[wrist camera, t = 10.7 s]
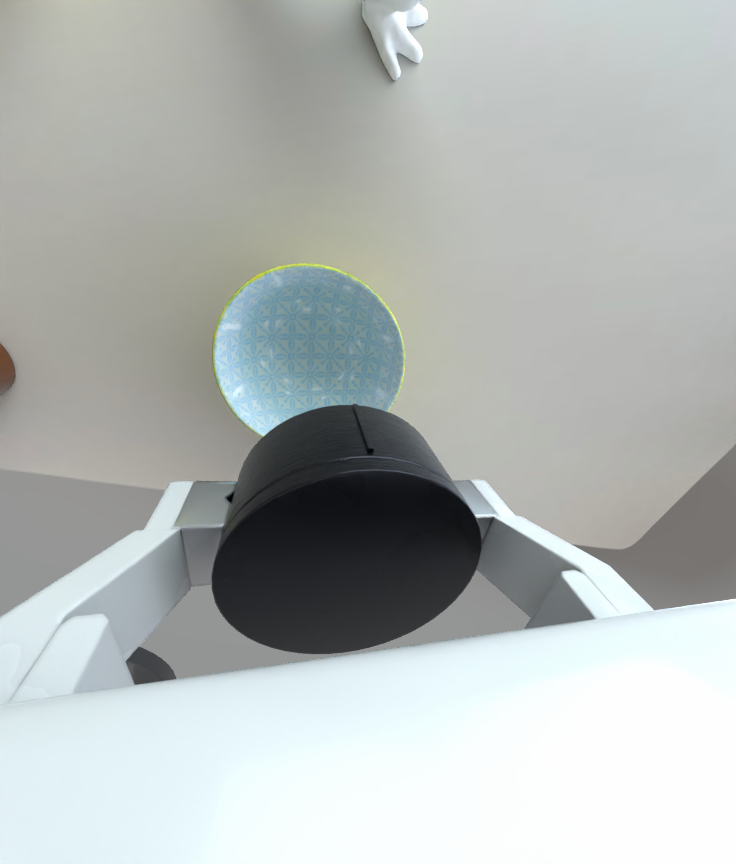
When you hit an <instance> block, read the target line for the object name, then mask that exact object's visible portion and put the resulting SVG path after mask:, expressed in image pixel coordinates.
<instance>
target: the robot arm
mask: <svg viewBox="0 0 736 864" xmlns="http://www.w3.org/2000/svg"><path fill="white" fill-rule="evenodd" d="M453 482H454V484H455V485H456V487H457V488H458V490H459V491H460V493H461V494H462V496H463V497H464V499H465V500H466V502H467V503H468V505H469V506H470V508H471V509H472V511H473V512H474V514H475V516H476V518H477V521H478V523H479V526H480V531H481V537H482V549H481V555H480V560H479V563H478V566H477V568H476V569H477V570H478V571H479V572H480V573H481V574H482V575H483V576H484V577H486V578H487V579H488V580H489V581H490V582H491V583H492V584H493V585H495V586H496V587H497V588H498V589H499V590H500V591H501V592H502V593H503V594H505V595H506V596H507V597H508V598H509V599H510V600H511V601H512V602H514V603H515V604H516V605H517V606H518V607H519V608H520V609H522V610H523V611H524V612H525V613H526V614H527V615H528V616H529V617H531V619H530V621H529V622H528V624H527V625H526V627H525V628H524V629H523V630H516V631H509V632H501V633H495V634H487V635H481V636H473V637H466V638H459V639H452V640H446V641H439V642H431V643H425V644H417V645H410V646H404V647H397V648H390V649H383V650H376V651H369V652H362V653H355V654H348V655H341V656H335V657H327V658H320V659H313V660H306V661H300V662H292V663H285V664H278V665H272V666H264V667H258V668H250V669H244V670H236V671H229V672H222V673H215V674H208V675H201V676H194V677H187V678H180V679H173V680H166V681H159V682H152V683H145V684H138V685H135V684H134V682H133V679H132V677H131V674H130V672H129V669H128V667H127V664H126V662H125V661H126V660H127V659H128V658H129V657H130V656H131V655H132V654H133V652H134V651H135V650H136V649H137V648H138V647H139V646H140V645H141V644H142V642H143V641H144V640H145V639H146V638H147V637H148V636H149V635H150V634H151V632H152V631H153V630H154V629H155V628H156V627H157V626H158V625H159V624H160V622H161V621H162V620H163V619H164V618H165V617H166V616H167V615H168V614H169V612H170V611H171V610H172V609H173V608H174V607H175V606H176V605H177V603H179V601H180V600H181V599H182V598H183V597H184V596H185V595H186V594H187V592H188V591H189V590H190V587H193V586H202V585H212V581H211V575H212V569H213V564H214V560H215V556H216V553H217V549H218V547H219V542H220V539H221V536H222V532H223V529H224V526H225V523H226V520H227V516H228V513H229V509H230V506H231V501H232V498H233V495H234V492H235V488H236V485H237V482H227V481H196V482H195V481H173V482H171V483H170V484H169V485H168V486H167V488H166V490H165V492H164V494H163V495H162V497H161V499H160V501H159V503H158V504H157V506H156V508H155V510H154V511H153V513H152V515H151V517H150V518H149V520H148V522H147V524H146V526H145V527H144V529H143V530H140V531H134V532H132V533H131V534H129V535H128V536H126V537H125V538H123V539H121V540H120V541H118V542H117V543H115V544H114V545H112V546H110V547H109V548H108V549H106V550H104V551H103V552H101V553H100V554H98V555H97V556H95V557H93V558H92V559H90V560H89V561H87V562H85V563H84V564H82V565H81V566H79V567H78V568H76V569H75V570H73V571H71V572H70V573H68V574H67V575H65V576H63V577H62V578H60V579H59V580H57V581H56V582H54V583H52V584H51V585H49V586H48V587H47V588H45V589H43V590H42V591H40V592H38V593H37V594H35V595H34V596H32V597H31V598H29V599H27V600H26V601H24V602H23V603H21V604H20V605H18V606H16V607H15V608H13V609H12V610H10V611H9V612H7V613H5V614H4V615H2V616H1V617H0V864H736V599H732V600H725V601H718V602H712V603H704V604H698V605H690V606H683V607H676V608H670V609H663V610H656V611H654V610H653V609H652V608H651V607H650V606H649V605H648V604H647V603H646V602H645V601H644V600H643V599H642V598H641V597H640V596H639V595H638V594H637V593H636V592H635V591H634V590H633V589H632V588H631V587H630V586H629V585H628V584H627V583H626V582H625V581H624V580H623V579H622V578H621V577H620V576H619V575H618V574H617V573H616V572H615V571H614V570H613V569H612V568H611V567H610V566H609V565H607V564H605V563H603V562H602V561H600V560H598V559H596V558H595V557H592V556H591V555H589V554H587V553H585V552H583V551H582V550H580V549H578V548H576V547H574V546H573V545H571V544H569V543H568V542H566V541H564V540H562V539H560V538H559V537H557V536H555V535H553V534H552V533H550V532H548V531H546V530H544V529H543V528H541V527H539V526H537V525H535V524H534V523H532V522H530V521H528V520H526V519H525V518H523V517H521V516H515V515H514V514H513V513H512V511H511V510H510V509H509V508H508V507H507V505H506V504H505V503H504V502H503V501H502V500H501V498H500V497H499V496H498V495H497V494H496V492H495V491H494V490H493V489H492V488H491V486H490V485H489V484H488V483H487V482H486V481H484V480H466V481H453Z"/></svg>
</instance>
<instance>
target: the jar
mask: <svg viewBox="0 0 736 864" xmlns="http://www.w3.org/2000/svg"><path fill="white" fill-rule="evenodd" d="M14 378H15V369H14V365H13V362H12V360H11V358H10V356H9V354H8V353H7V351H6V350H5V349H4V348H3V346H2V345H1V344H0V395H1V394H2V393H4V392H6V391H7V390H8V389H9V388H10V387H11V386H12V384H13V382H14Z"/></svg>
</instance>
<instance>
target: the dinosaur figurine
mask: <svg viewBox="0 0 736 864" xmlns="http://www.w3.org/2000/svg"><path fill="white" fill-rule="evenodd" d="M420 1H421V0H363V4H362V17H363V19H364V21H365V23H366V24H367V26H368V28H369V29H370V32H371V35H372V37H373V39H374V41H375V45H376V47H377V49H378V51H379V54H380V57H381V59H382V61H383V63H384V65H385V67H386V69H387V71H388V73H389V75H390V76H391V78H392V79H393V80H397V79H398V78H399V76H400V73H401V71H400V67H399V63H398V61H397V57H396V56H397V53H401V54H403V55H404V56H406V57H407V58H408V59H410V60H412V61H414V62H416V63H419V62H420V61H421V59H422V56H423V53H422V49H421V47H420V45H419V44H418V42H417V41H416V40H415V39H414V38H413V36H412V35H411V34H410V32H409V31H408V30H407V28H406V27H408V26H419V25H422V24H424V23H425V22H426V21H427V18H428V14H427V10H426V8H424V7H423V6H422V5H421V4H419V2H420Z"/></svg>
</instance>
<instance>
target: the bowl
mask: <svg viewBox="0 0 736 864" xmlns="http://www.w3.org/2000/svg"><path fill="white" fill-rule="evenodd" d="M212 361H213V369H214V374H215V378H216V381H217V384H218V387H219V389H220V391H221V394H222V396H223V397H224V399H225V401H226V403H227V405H228V406H229V408H230V409H231V410H232V412H233V413H234V414H235V416H237V417H238V419H239V420H240V421H241V422H242V423H243V424H244V425H245V426H247V427H248V428H249V429H250V430H252V431H253V432H254V433H256V434H257V435H259V436H261V437H262V438H263V437H264V436H265V435H266V434H267V433H268V432H269V431H271V430H272V429H273V428H275V427H276V426H278V425H279V424H280V423H282V422H284V421H286V420H288V419H289V418H292V417H294V416H296V415H298V414H301V413H304V412H306V411H309V410H313V409H317V408H321V407H326V406H334V405H353V404H357V405H359V406H367V407H372V408H376V409H380V410H383V411H386V412H389V410H390V409H391V407H392V405H393V404H394V402H395V400H396V398H397V396H398V394H399V391H400V388H401V385H402V382H403V377H404V371H405V350H404V343H403V338H402V335H401V332H400V329H399V327H398V324H397V322H396V320H395V318H394V316H393V314H392V313H391V311H390V309H389V308H388V306H387V305H386V304H385V303H384V301H383V300H382V299H381V298H380V296H379V295H378V294H377V293H375V292H374V291H373V290H372V289H371V288H370V287H369V286H367V285H366V284H365V283H363V282H362V281H360V280H359V279H357V278H356V277H354V276H352V275H350V274H348V273H346V272H343V271H341V270H338V269H335V268H332V267H328V266H323V265H317V264H308V263H305V264H290V265H284V266H280V267H276V268H273V269H270V270H267V271H265V272H263V273H261V274H259V275H257V276H255V277H253V278H252V279H251V280H249V281H248V282H246V283H245V284H244V285H243V286H242V287H241V288H240V289H239V290H238V291H236V292H235V294H234V295H233V296H232V297H231V299H230V300H229V301H228V303H227V304H226V306H225V308H224V309H223V311H222V313H221V315H220V318H219V320H218V322H217V326H216V329H215V332H214V337H213V347H212Z"/></svg>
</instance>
